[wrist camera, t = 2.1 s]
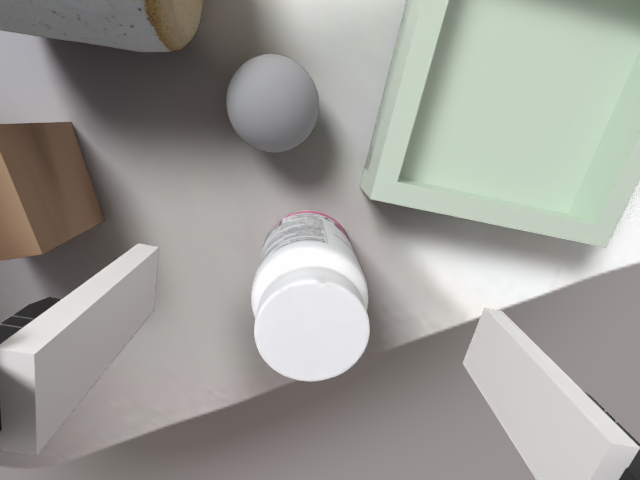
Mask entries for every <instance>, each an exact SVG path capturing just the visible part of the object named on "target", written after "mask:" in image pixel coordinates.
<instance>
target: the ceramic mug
mask: <svg viewBox="0 0 640 480" xmlns="http://www.w3.org/2000/svg"><path fill="white" fill-rule="evenodd" d="M203 1H204V0H0V30H2V31H9V32H15V33H21V34H27V35H34V36H40V37H47V38H53V39H59V40H66V41H76V42H82V43H88V44H94V45H101V46H107V47H113V48H119V49H125V50H131V51H136V52H172V51H176V50H181V49H182V48H183V47H184V46H185V45H187V44H188V43H189V42H190V41H191V40H192V38H193V37H194V35H195V34H196V32H197V29H198V26H199V23H200V19H201V14H202V9H203Z"/></svg>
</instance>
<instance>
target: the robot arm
mask: <svg viewBox="0 0 640 480" xmlns="http://www.w3.org/2000/svg"><path fill="white" fill-rule="evenodd" d="M158 254H159V247H155V246H150V245H145V244H139V243H138V244H137V245H135V246H134V247H133V248H131V249H130V250H128V251H127V252H126V253H124V254H123V255H122V256H120V257H119V258H118V259H116V260H115V261H113V262H112V263H111V264H109V265H108V266H107V267H105V268H104V269H102V270H101V271H100V272H98V273H97V274H96V275H94V276H93V277H92V278H90V279H89V280H87V281H86V282H85V283H83V284H82V285H81V286H79V287H78V288H77V289H75V290H74V291H72V292H71V293H70V294H68V295H67V296H66V297H64V298H63V299H57V298H51V297H49V298H46V299H43V300H40V301H38V302H35V303H32V304H29V305H28V306H26V307H25V308H23V309H22V310H20V311H19V312H17V313H16V314H14V317H12V316H11V317H10V318H8V319H7V320H5V321H4V322H2V324H1V325H0V442H1V452H9V453H17V454H25V455H32V456H37V455H38V454H39V453H40V452H41V450H42V449H43V448H44V447H45V445H46V444H47V443H48V442H49V440H50V439H51V438H52V437H53V435H54V434H55V433H56V432H57V430H58V429H59V428H60V427H61V425H62V424H63V423H64V422H65V420H66V419H67V418H68V417H69V415H70V414H71V413H72V412H73V411H74V409H75V408H76V407H77V406H78V404H79V403H80V402H81V401H82V399H83V398H84V397H85V396H86V394H87V393H88V392H89V391H90V389H91V388H92V387H93V386H94V384H95V383H96V382H97V381H98V379H99V378H100V377H101V376H102V374H103V373H104V372H105V371H106V370H107V368H108V367H109V366H110V365H111V363H112V362H113V361H114V360H115V358H116V357H117V356H118V355H119V353H120V352H121V351H122V350H123V348H124V347H125V346H126V345H127V343H128V342H129V341H130V340H131V338H132V337H133V336H134V335H135V333H136V332H137V331H138V330H139V329H140V327H141V326H142V325H143V324H144V322H145V321H146V320H147V319H148V317H149V316H150V315H151V314H152V312H153V311H154V301H155V289H156V277H157V266H158ZM463 365H464V366H465V368H466V370H467V371H468V373H469V374H470V376H471V378H472V379H473V381H474V382H475V384H476V385H477V387H478V389H479V390H480V392H481V393H482V395H483V397H484V398H485V400H486V401H487V403H488V404H489V406H490V408H491V409H492V411H493V412H494V414H495V416H496V417H497V418H498V420H499V422H500V423H501V425H502V427H503V428H504V430H505V431H506V433H507V434H508V436H509V438H510V439H511V441H512V442H513V444H514V445H515V447H516V448H517V450H518V452H519V453H520V455H521V457H522V458H523V460H524V461H525V463H526V464H527V466H528V467H529V469H530V471H531V472H532V474H533V475H534V477H535V479H536V480H640V444H639V443H638V442H637V441H636V440H635V439H634V438H633V437H632V436H631V435H630V434H629V433H628V432H627V431H626V430H625V429H624V428H623V427H622V426H621V425H620V424H619V423H616V422H615V419H614V418H613V417H612V416H610V414H608V412H605V411H604V409H603V408H602V407H601V406H600V405H599V404H598V403H597V402H596V401H595V400H594V399H593V398H592V397H591V396H590V395H588V394H587V393H586V392H584V391H583V390H581V389H580V388H579V387H578V386H577V385H576V384H575V383H574V382H573V381H572V380H571V379H570V378H569V377H568V376H567V375H566V374H565V373H564V372H563V371H562V370H561V369H560V368H559V367H558V366H557V365H556V364H555V363H554V362H553V361H552V360H550V358H549V357H548V356H547V355H546V354H545V353H544V352H543V351H542V350H541V349H540V348H539V347H538V346H537V345H536V344H535V343H534V342H533V341H532V340H530V338H529V337H528V336H527V335H525V333H524V332H522V330H521V329H520V328H518V327H517V325H515V324H514V323H513V322H512V321H511V320H510V319H509V318H508V317H507V316H506V315H505V314H504V313H503V312H502V311H499V310H494V309H488V308H484V310H483V313H482V315H481V318H480V321H479V323H478V325H477V328H476V331H475V333H474V336H473V338H472V341H471V343H470V346H469V348H468V351H467V353H466V356H465V359H464V361H463Z"/></svg>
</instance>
